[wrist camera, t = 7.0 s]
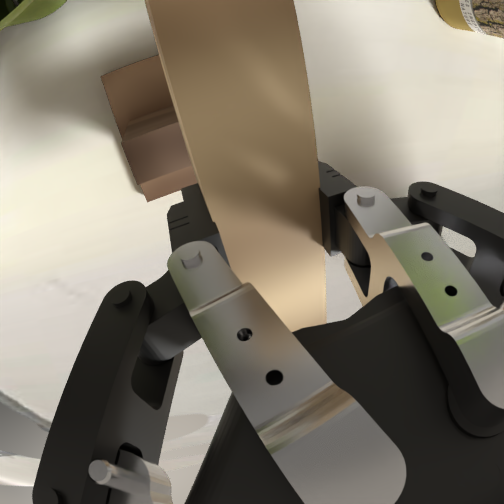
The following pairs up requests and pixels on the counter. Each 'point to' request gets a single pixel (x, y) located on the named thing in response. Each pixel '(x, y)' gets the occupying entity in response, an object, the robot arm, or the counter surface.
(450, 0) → the brown bark-patterned cylinder
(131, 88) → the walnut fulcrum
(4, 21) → the plant pot
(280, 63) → the light tan wooden bar
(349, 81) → the counter surface
